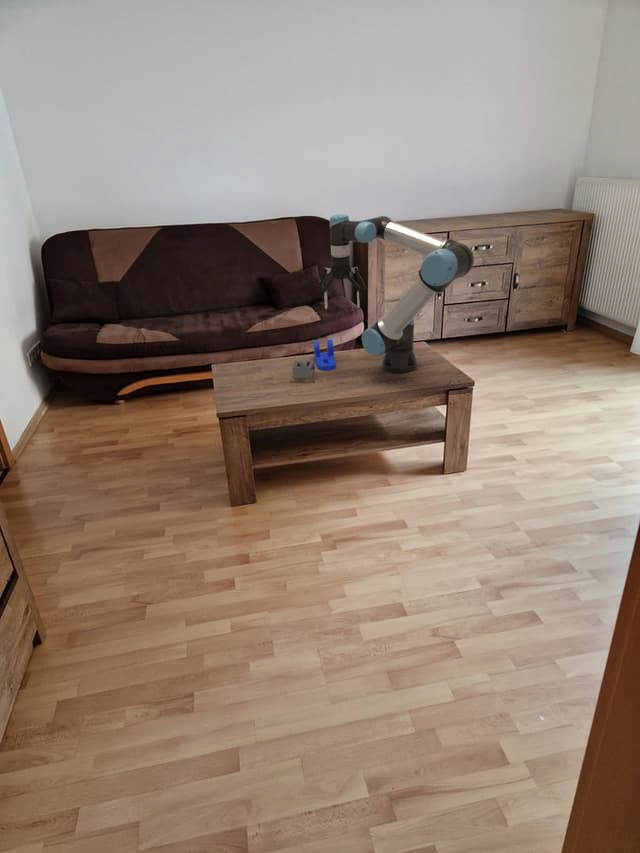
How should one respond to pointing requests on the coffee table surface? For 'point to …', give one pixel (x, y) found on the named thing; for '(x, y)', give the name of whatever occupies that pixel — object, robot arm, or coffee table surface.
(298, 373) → the gray square frame
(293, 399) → the coffee table surface
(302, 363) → the peg stand
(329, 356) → the bracket
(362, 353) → the coffee table surface
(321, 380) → the coffee table surface
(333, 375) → the coffee table surface
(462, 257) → the robot arm
